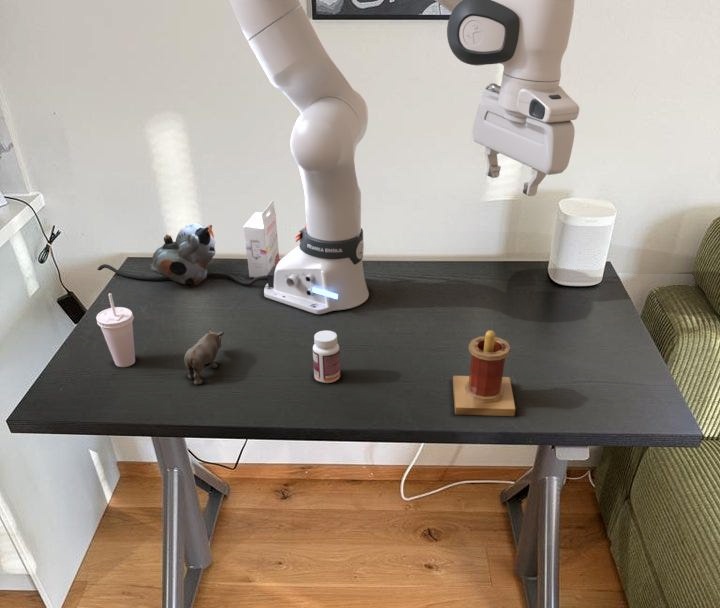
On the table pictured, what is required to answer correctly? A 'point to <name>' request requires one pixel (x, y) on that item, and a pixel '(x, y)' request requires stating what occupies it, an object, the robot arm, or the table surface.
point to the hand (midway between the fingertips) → (510, 185)
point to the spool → (486, 370)
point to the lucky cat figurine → (185, 254)
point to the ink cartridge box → (261, 242)
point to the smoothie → (118, 333)
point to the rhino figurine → (202, 354)
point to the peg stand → (473, 407)
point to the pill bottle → (326, 357)
